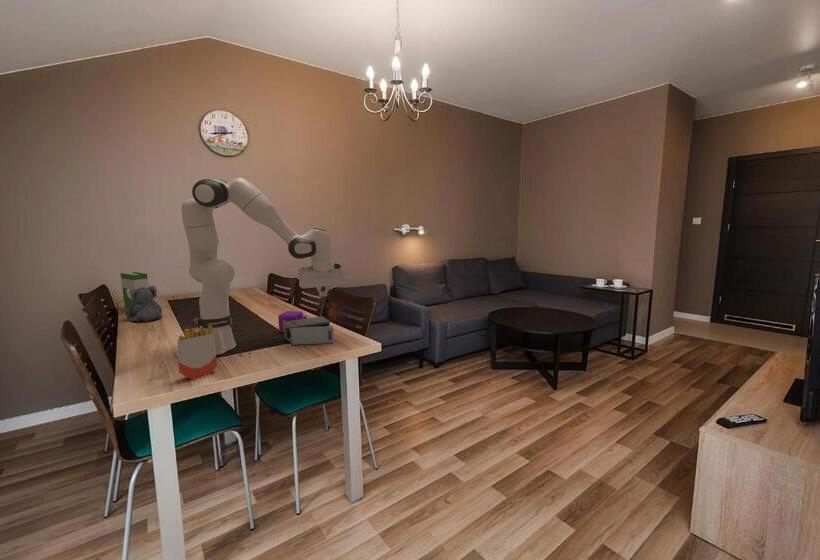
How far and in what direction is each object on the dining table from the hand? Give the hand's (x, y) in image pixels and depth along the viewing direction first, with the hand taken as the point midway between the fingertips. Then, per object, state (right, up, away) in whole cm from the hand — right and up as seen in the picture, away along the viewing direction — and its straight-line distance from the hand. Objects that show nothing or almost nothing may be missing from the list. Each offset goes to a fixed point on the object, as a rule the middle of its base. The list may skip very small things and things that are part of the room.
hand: (323, 296), depth 164 cm
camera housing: (-9, -20, +9) cm, 24 cm away
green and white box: (-131, -13, +65) cm, 147 cm away
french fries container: (-36, -27, -33) cm, 56 cm away
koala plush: (-112, -16, +46) cm, 122 cm away
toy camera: (-19, -19, +20) cm, 34 cm away
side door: (-5, -21, -1) cm, 22 cm away
